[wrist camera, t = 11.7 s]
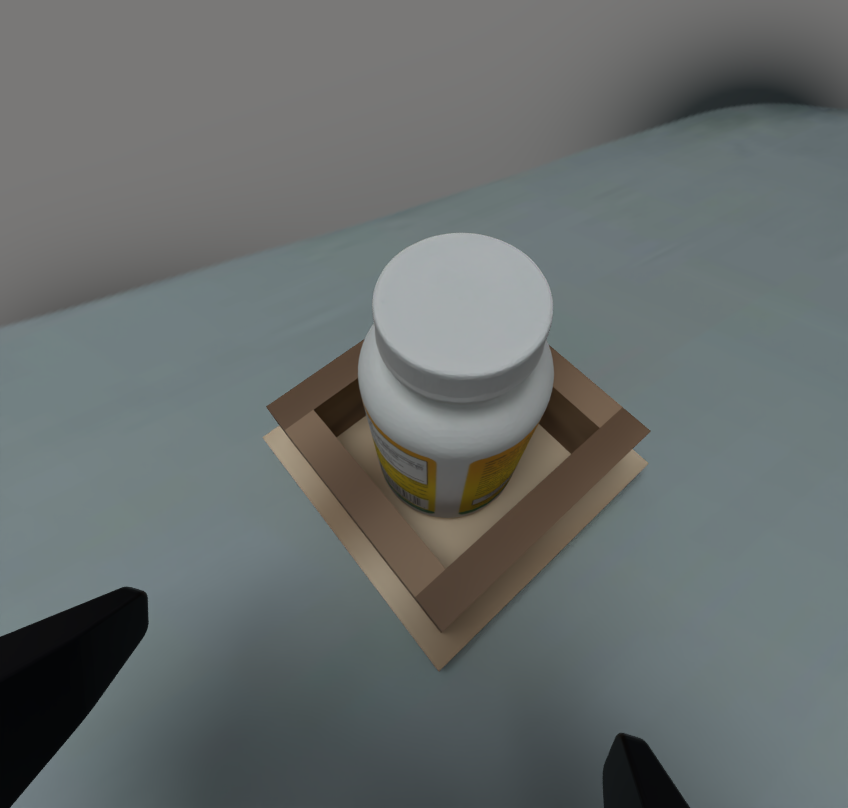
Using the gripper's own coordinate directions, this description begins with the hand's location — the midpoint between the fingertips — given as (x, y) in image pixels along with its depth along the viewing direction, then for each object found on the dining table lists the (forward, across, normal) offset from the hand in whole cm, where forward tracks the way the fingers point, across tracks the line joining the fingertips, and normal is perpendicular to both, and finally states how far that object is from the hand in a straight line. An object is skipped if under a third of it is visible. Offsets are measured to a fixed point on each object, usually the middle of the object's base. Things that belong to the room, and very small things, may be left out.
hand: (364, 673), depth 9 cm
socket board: (+12, 0, +1) cm, 12 cm away
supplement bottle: (+11, 0, 0) cm, 11 cm away
